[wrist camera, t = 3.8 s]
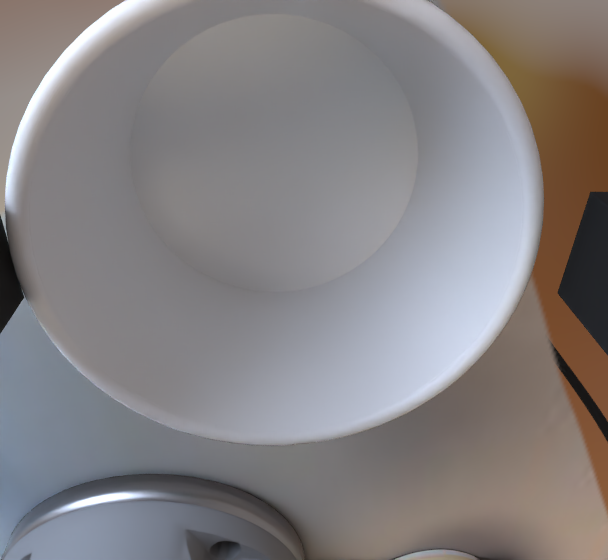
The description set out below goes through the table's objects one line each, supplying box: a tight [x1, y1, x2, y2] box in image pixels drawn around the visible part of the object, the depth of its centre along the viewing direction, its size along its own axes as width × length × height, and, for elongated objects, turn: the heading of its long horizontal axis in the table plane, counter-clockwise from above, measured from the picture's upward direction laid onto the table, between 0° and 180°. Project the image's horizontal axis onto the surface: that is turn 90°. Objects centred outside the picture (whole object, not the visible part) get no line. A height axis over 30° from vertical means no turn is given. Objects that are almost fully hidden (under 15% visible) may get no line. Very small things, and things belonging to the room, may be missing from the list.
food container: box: [5, 0, 544, 446], centre depth 15 cm, size 12×12×6 cm
